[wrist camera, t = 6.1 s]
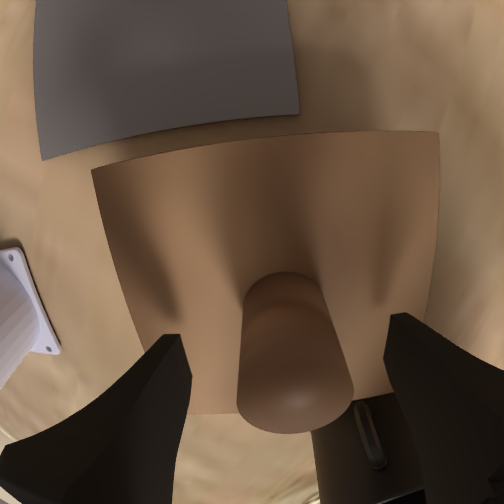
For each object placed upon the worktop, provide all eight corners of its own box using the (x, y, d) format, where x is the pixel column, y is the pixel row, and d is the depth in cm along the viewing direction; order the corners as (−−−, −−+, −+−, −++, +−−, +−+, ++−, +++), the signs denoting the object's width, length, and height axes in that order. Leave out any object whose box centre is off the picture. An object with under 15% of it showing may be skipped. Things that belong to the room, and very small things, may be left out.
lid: (174, 402, 15) (154, 486, 10) (101, 166, 10) (3, 203, 5) (402, 378, 14) (436, 457, 9) (427, 131, 9) (530, 148, 5)
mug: (413, 326, 17) (479, 440, 9) (428, 417, 21) (462, 498, 13) (275, 385, 19) (282, 513, 10) (330, 457, 23) (344, 543, 14)
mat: (46, 159, 13) (41, 160, 13) (44, -34, 8) (41, -36, 8) (298, 114, 13) (300, 114, 12) (266, -95, 8) (266, -99, 7)
